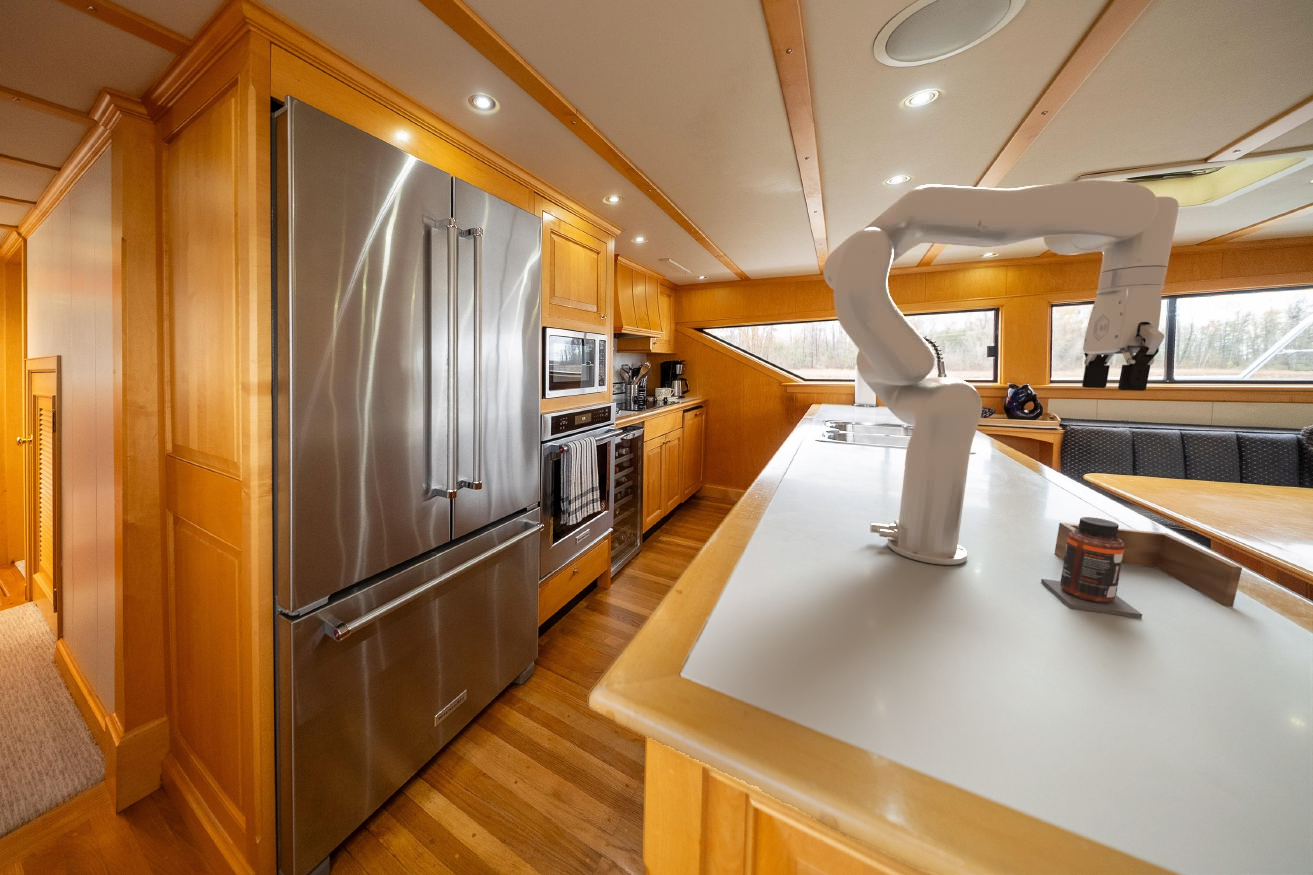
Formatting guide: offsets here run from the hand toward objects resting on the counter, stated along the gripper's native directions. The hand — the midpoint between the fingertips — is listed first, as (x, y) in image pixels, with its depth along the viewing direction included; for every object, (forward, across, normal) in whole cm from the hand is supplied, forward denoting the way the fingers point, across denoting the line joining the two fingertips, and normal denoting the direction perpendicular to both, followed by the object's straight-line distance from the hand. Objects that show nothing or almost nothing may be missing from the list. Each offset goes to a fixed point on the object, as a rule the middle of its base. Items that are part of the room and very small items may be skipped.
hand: (1111, 389), depth 75 cm
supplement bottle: (+30, +17, -8) cm, 35 cm away
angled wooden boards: (+30, +6, +4) cm, 31 cm away
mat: (+30, +18, -8) cm, 36 cm away
